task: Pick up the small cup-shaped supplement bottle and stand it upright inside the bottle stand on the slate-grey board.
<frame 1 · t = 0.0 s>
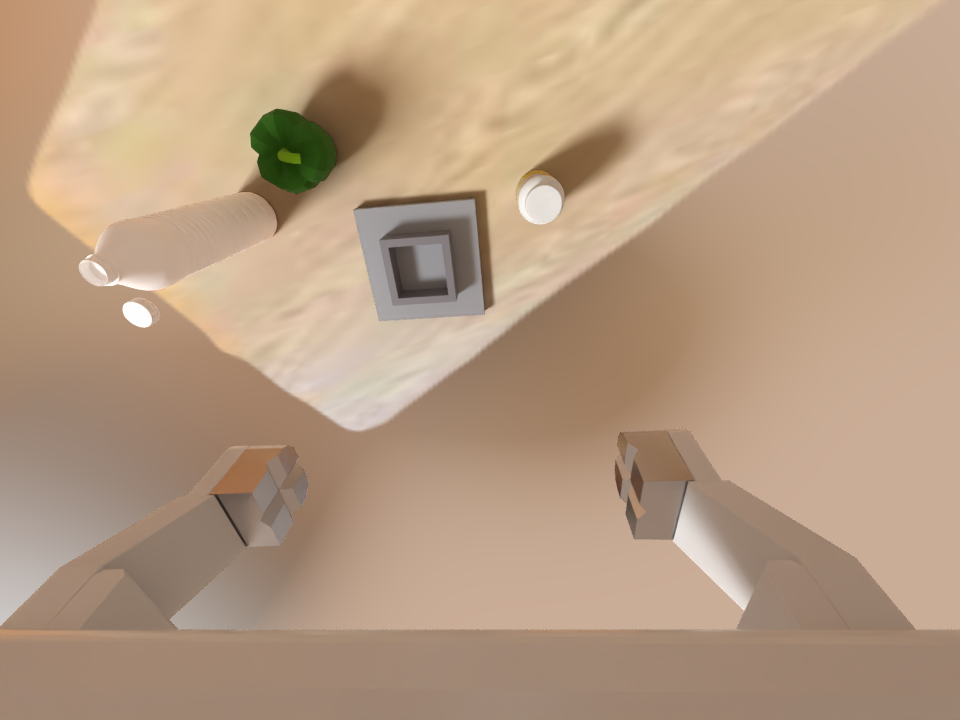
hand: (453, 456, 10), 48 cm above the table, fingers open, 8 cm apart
supplement bottle: (536, 192, 51), on the table
water bottle: (261, 223, 55), on the table
bottle stand: (424, 262, 56), on the table
bell pepper: (313, 152, 50), on the table
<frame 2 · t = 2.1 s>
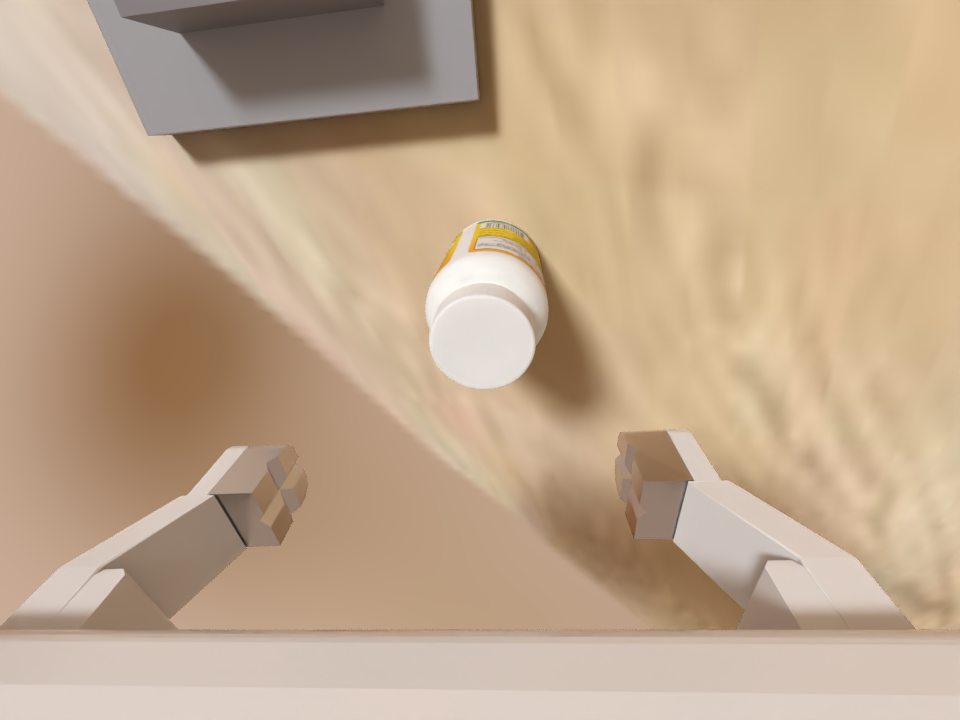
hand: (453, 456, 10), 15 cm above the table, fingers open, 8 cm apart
supplement bottle: (492, 264, 23), on the table
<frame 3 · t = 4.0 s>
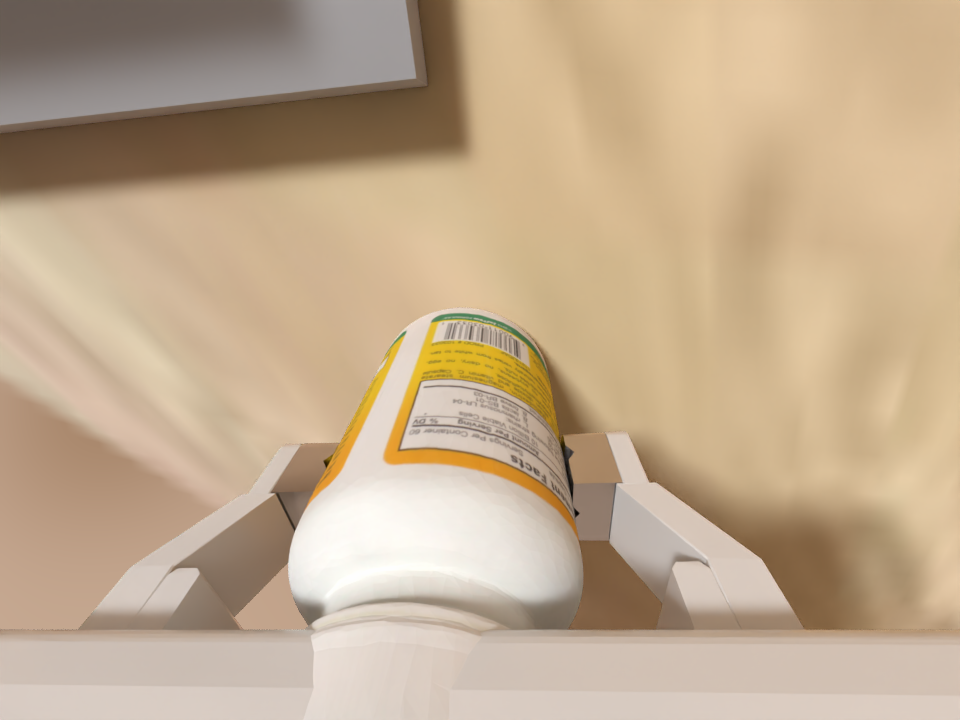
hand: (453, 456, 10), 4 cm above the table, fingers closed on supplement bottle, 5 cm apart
supplement bottle: (465, 375, 13), on the table, touching gripper
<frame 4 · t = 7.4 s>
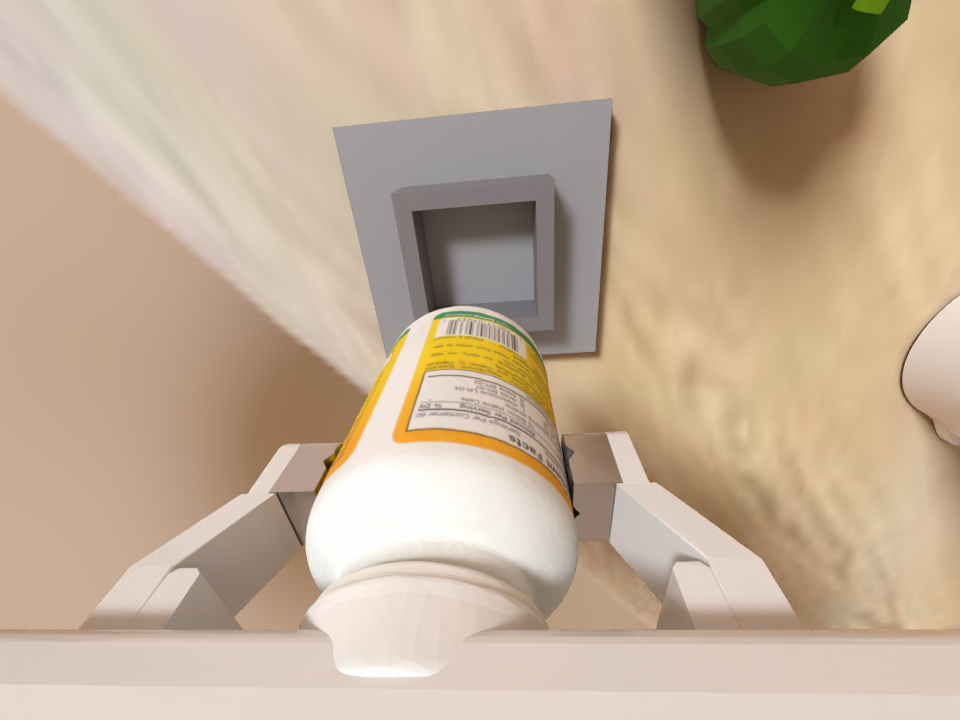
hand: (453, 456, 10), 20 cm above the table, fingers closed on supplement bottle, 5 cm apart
supplement bottle: (466, 371, 14), point 16 cm above the table, touching gripper
bottle stand: (481, 248, 28), on the table
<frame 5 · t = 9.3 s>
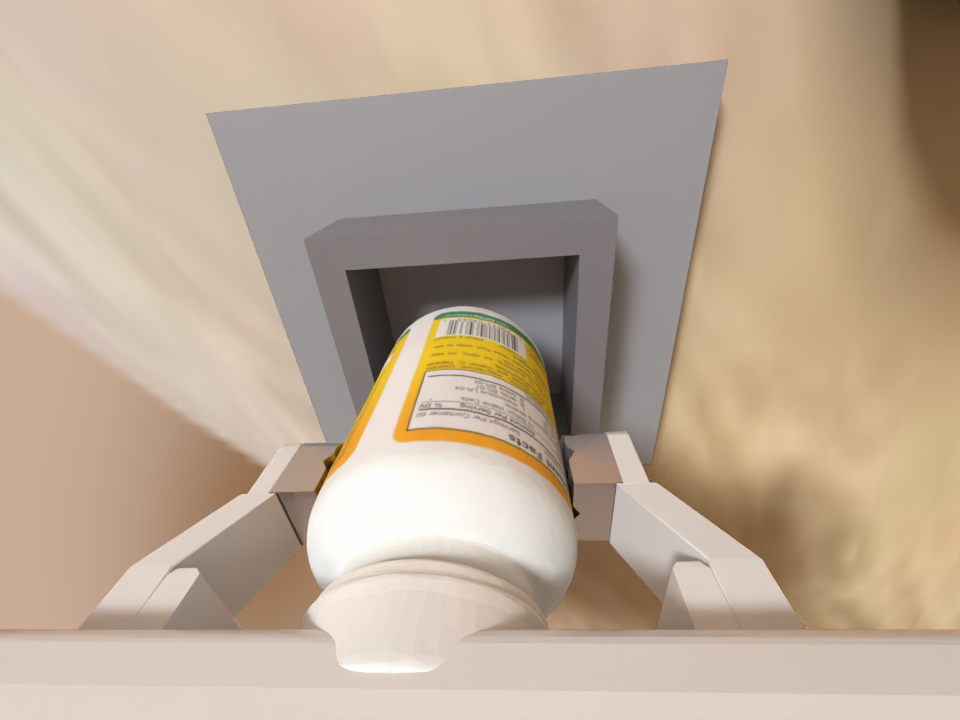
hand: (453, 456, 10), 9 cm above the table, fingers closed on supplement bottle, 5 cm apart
supplement bottle: (466, 371, 14), point 4 cm above the table, touching gripper
bottle stand: (477, 311, 17), on the table
when the fingers open (7 cm above the table, at t = 10.7 s): supplement bottle stays where it is, resting on bottle stand.
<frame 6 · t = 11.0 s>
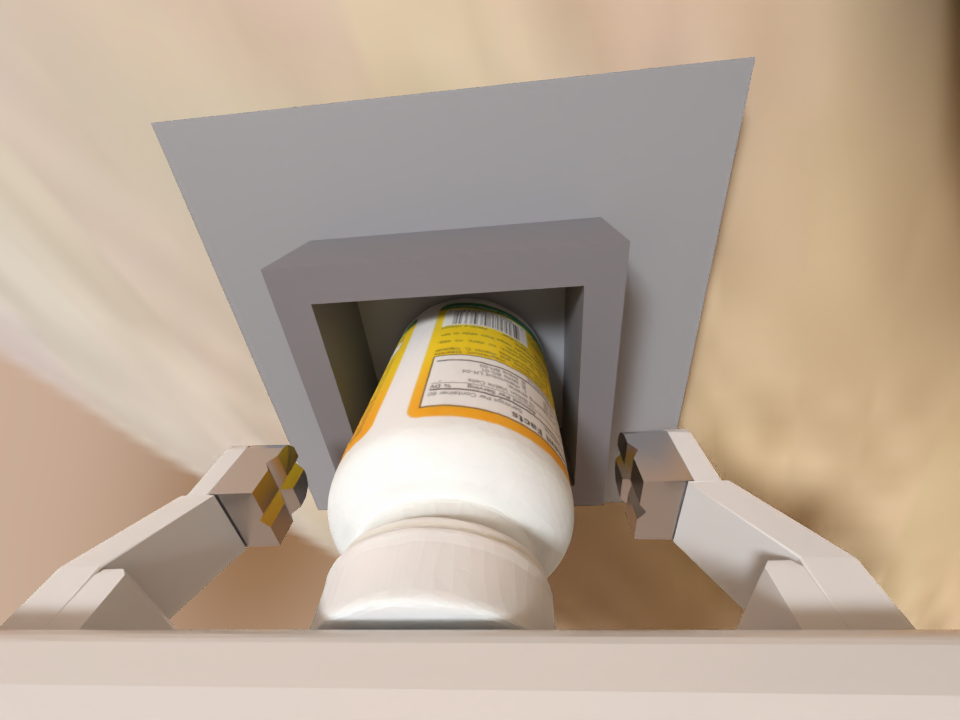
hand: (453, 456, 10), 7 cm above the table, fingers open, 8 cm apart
supplement bottle: (469, 360, 15), point 1 cm above the table, touching bottle stand
bottle stand: (469, 337, 16), on the table
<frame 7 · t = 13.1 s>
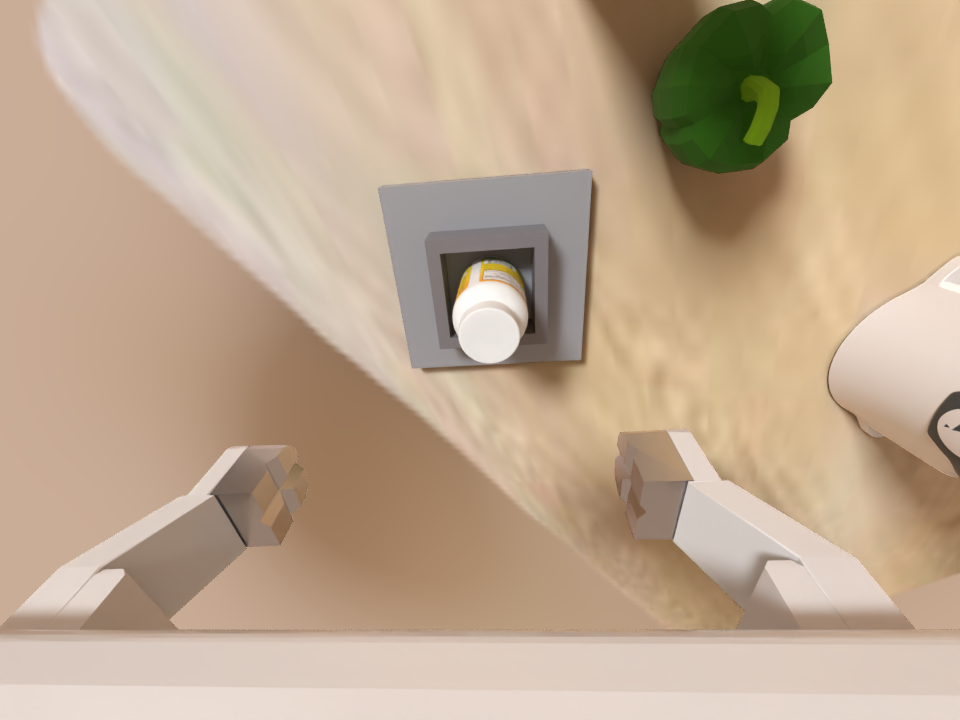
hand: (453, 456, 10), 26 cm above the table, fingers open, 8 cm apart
supplement bottle: (491, 285, 34), point 1 cm above the table, touching bottle stand
bottle stand: (490, 277, 35), on the table
bell pepper: (691, 98, 28), on the table
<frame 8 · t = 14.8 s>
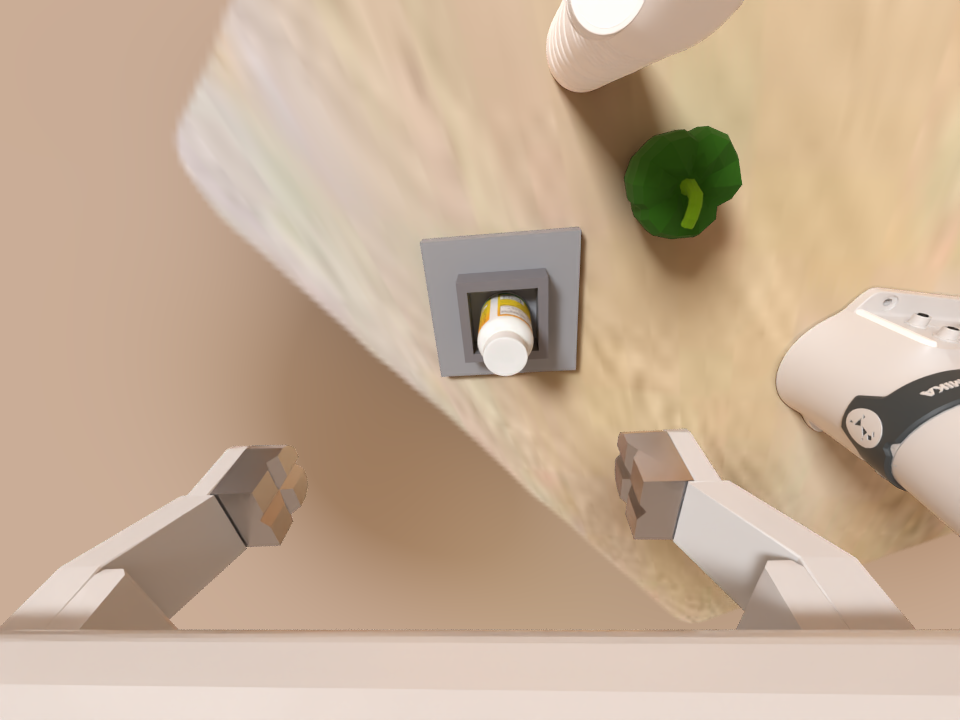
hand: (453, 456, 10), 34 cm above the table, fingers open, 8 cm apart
supplement bottle: (504, 312, 43), point 1 cm above the table, touching bottle stand
water bottle: (572, 55, 33), on the table
bottle stand: (503, 306, 44), on the table
bell pepper: (654, 176, 37), on the table
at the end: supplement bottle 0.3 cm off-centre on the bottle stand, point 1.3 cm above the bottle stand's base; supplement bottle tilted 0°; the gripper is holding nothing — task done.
